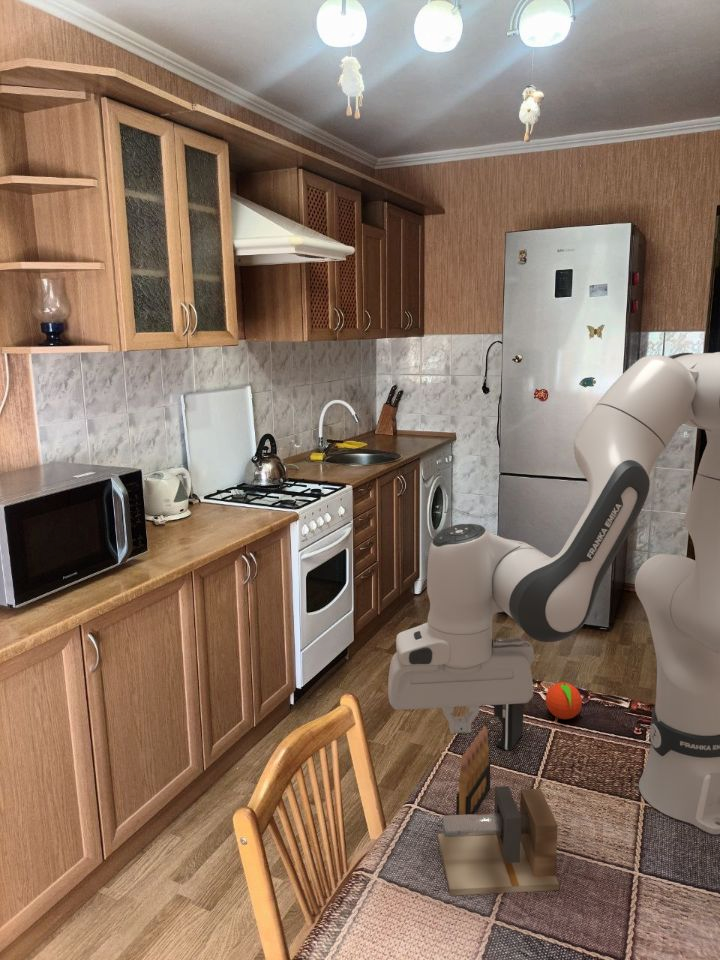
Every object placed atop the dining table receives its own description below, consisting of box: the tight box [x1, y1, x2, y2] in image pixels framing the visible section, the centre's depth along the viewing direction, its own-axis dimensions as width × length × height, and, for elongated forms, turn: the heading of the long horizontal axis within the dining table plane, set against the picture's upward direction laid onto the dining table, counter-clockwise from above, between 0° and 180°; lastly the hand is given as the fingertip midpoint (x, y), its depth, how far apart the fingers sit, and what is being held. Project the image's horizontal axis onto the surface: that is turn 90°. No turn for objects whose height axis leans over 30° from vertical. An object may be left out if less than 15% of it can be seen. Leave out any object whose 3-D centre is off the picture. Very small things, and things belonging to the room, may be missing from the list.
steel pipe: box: [442, 811, 530, 837], centre depth 102 cm, size 14×3×3 cm, turn 93°
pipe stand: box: [437, 788, 560, 897], centre depth 103 cm, size 15×11×9 cm
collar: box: [493, 785, 521, 863], centre depth 102 cm, size 2×7×7 cm, turn 3°
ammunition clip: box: [455, 725, 491, 815], centre depth 115 cm, size 11×2×12 cm, turn 150°
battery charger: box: [493, 703, 525, 751], centre depth 133 cm, size 7×4×11 cm, turn 148°
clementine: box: [545, 681, 583, 720], centre depth 141 cm, size 8×7×7 cm
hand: (460, 731), depth 102 cm, fingers closed
